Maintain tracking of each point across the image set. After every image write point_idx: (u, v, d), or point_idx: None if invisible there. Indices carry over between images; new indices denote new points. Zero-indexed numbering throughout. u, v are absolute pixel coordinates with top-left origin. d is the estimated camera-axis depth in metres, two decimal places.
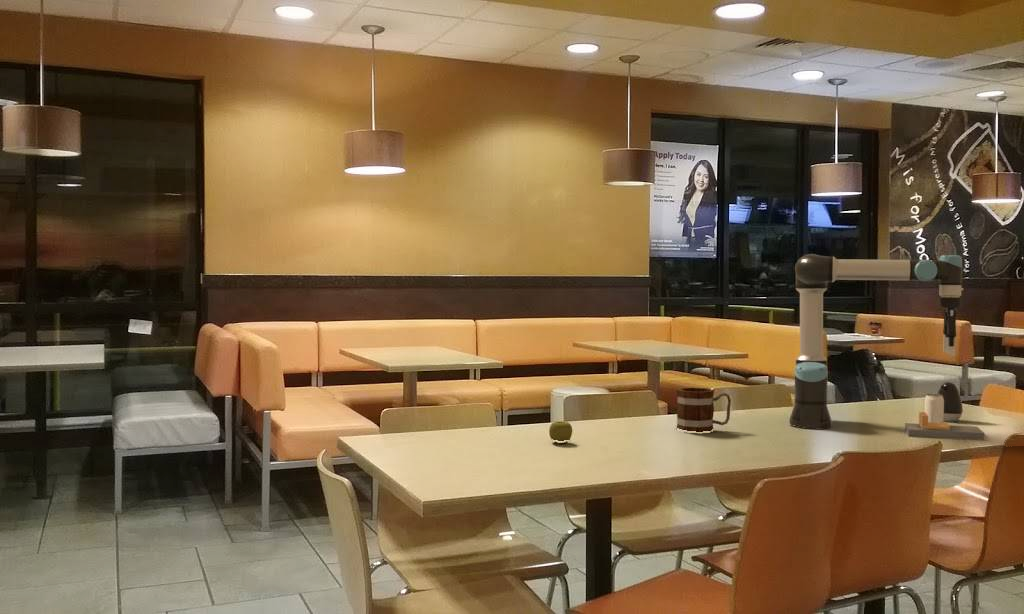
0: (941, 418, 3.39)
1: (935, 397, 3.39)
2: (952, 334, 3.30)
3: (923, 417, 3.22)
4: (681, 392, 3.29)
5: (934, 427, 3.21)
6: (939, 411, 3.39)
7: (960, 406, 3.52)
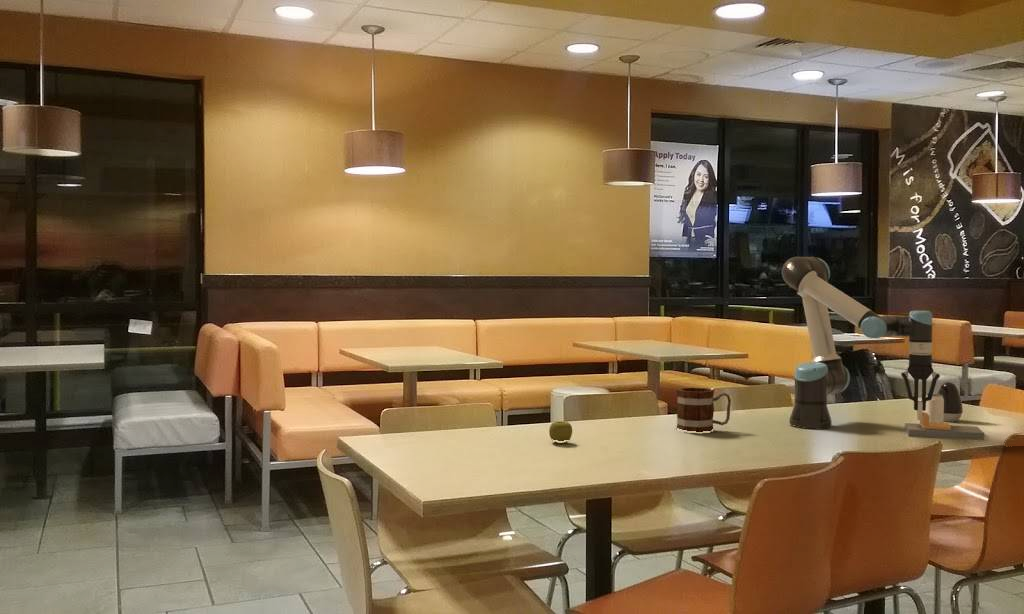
0: (941, 418, 3.39)
1: (935, 397, 3.39)
2: (909, 398, 3.27)
3: (924, 417, 3.22)
4: (681, 392, 3.29)
5: (935, 427, 3.21)
6: (939, 411, 3.39)
7: (960, 406, 3.52)
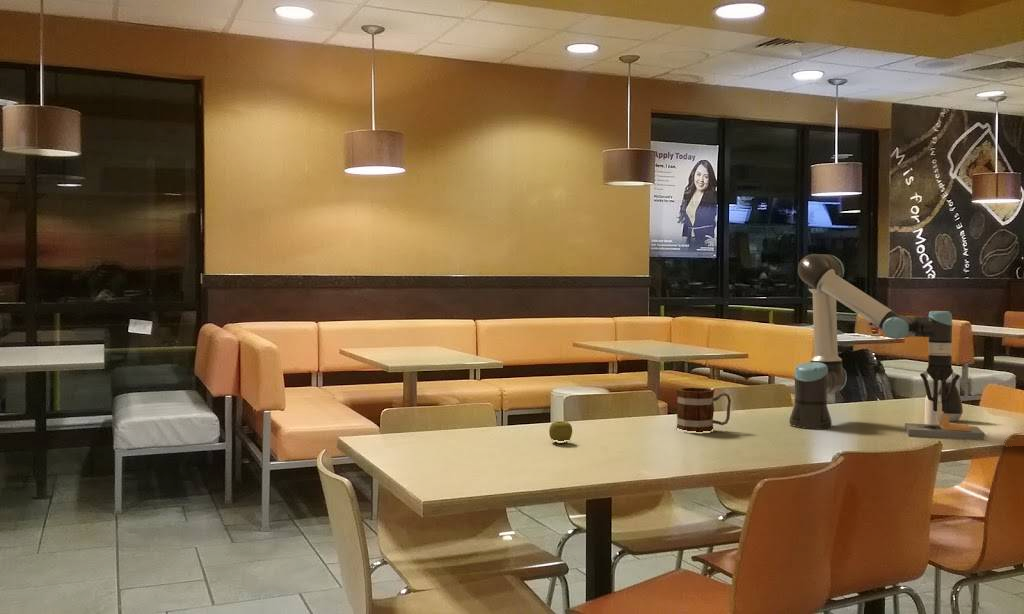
0: None
1: None
2: None
3: (944, 418, 3.20)
4: (681, 392, 3.29)
5: (955, 428, 3.19)
6: None
7: (960, 406, 3.52)
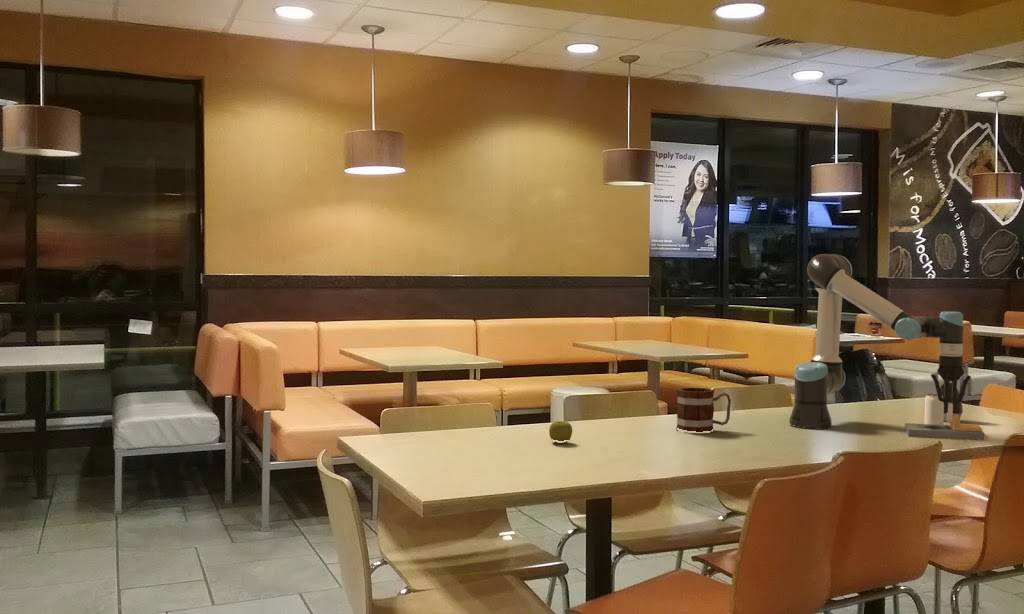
0: (941, 418, 3.39)
1: (935, 397, 3.39)
2: (939, 400, 3.25)
3: (955, 419, 3.19)
4: (681, 392, 3.29)
5: (966, 429, 3.18)
6: (939, 411, 3.39)
7: (960, 406, 3.52)
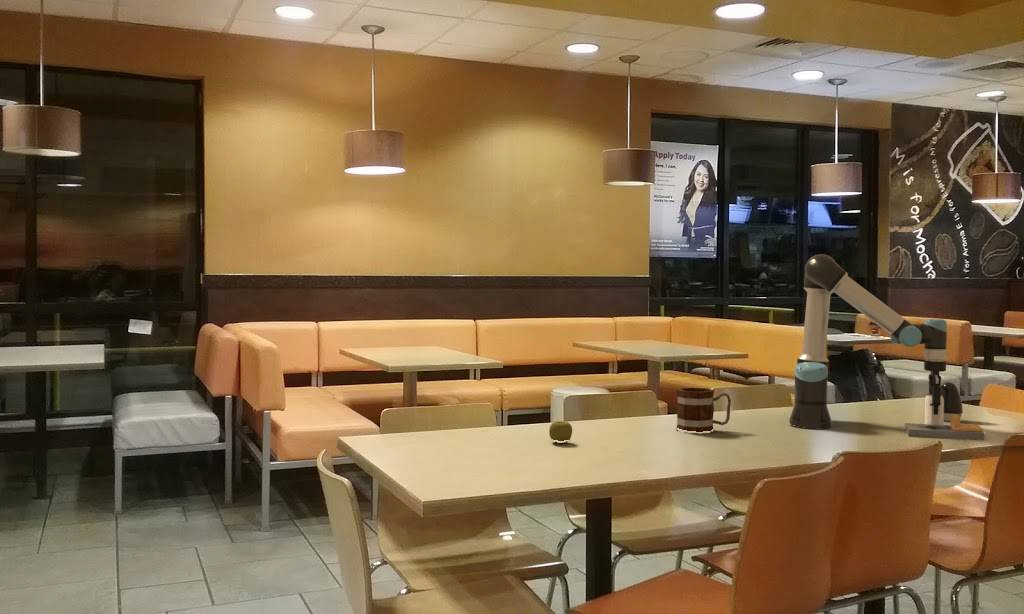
0: (941, 418, 3.39)
1: None
2: (937, 403, 3.35)
3: (955, 419, 3.19)
4: (681, 392, 3.29)
5: (966, 429, 3.18)
6: None
7: (960, 406, 3.52)
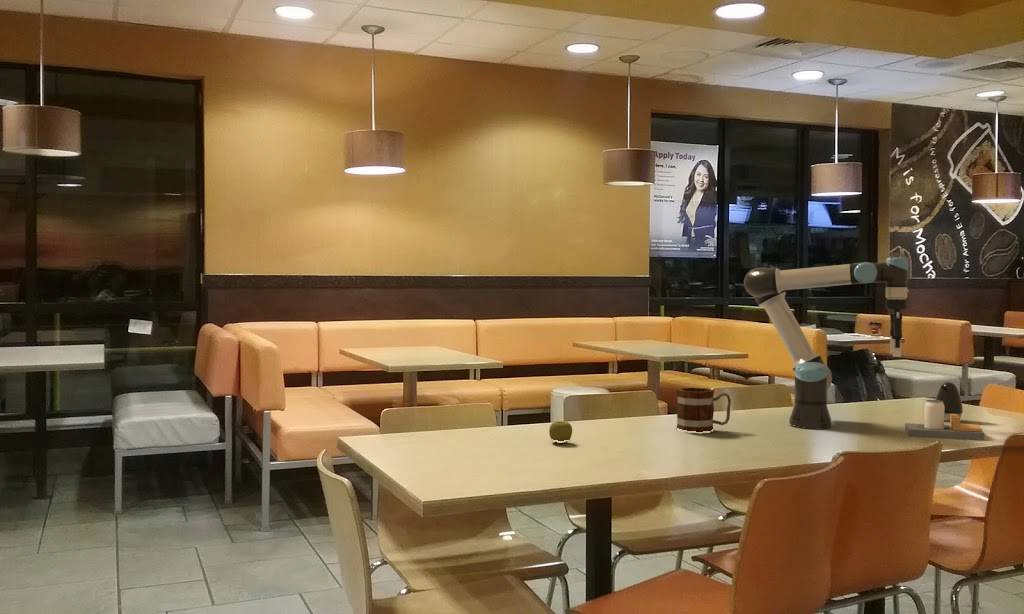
0: (942, 425, 3.23)
1: (935, 403, 3.23)
2: (898, 336, 3.33)
3: (955, 419, 3.19)
4: (681, 392, 3.29)
5: (966, 429, 3.18)
6: (940, 418, 3.22)
7: (960, 406, 3.52)
